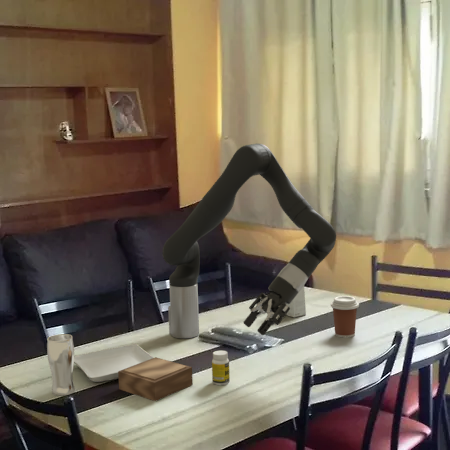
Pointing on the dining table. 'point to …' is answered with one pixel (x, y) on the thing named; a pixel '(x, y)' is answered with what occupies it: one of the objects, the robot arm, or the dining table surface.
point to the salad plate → (110, 361)
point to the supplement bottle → (220, 368)
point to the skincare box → (297, 305)
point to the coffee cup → (344, 315)
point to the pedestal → (155, 378)
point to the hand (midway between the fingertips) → (252, 329)
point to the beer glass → (61, 363)
